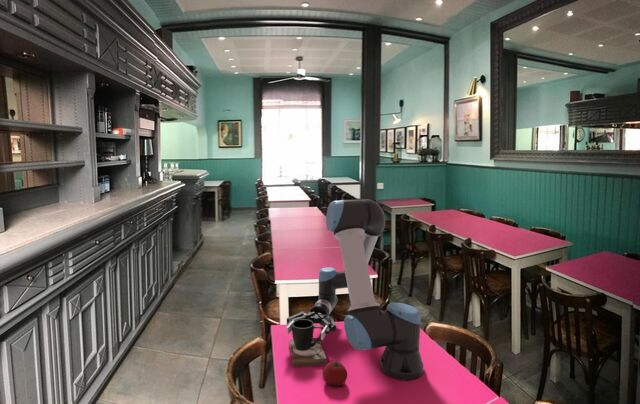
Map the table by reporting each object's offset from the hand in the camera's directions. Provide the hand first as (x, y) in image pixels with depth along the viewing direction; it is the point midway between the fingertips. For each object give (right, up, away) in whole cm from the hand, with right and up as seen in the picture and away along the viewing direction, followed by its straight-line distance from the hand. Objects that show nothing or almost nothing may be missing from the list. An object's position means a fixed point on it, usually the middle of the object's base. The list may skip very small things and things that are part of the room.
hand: (304, 333), depth 144 cm
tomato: (+11, -12, -13) cm, 21 cm away
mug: (+1, -7, +4) cm, 8 cm away
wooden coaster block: (+1, -9, +4) cm, 10 cm away
